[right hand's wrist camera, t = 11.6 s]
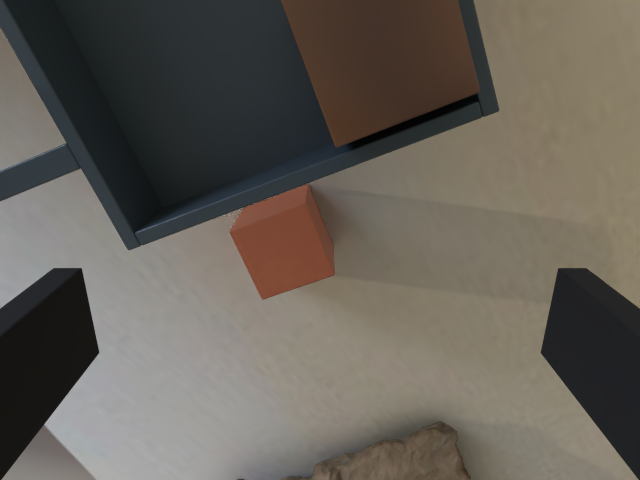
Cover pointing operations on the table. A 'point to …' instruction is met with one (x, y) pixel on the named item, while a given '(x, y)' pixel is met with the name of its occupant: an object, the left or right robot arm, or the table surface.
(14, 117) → the table surface
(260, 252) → the terracotta cube
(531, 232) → the table surface
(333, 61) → the walnut cube
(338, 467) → the stone
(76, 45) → the tray
